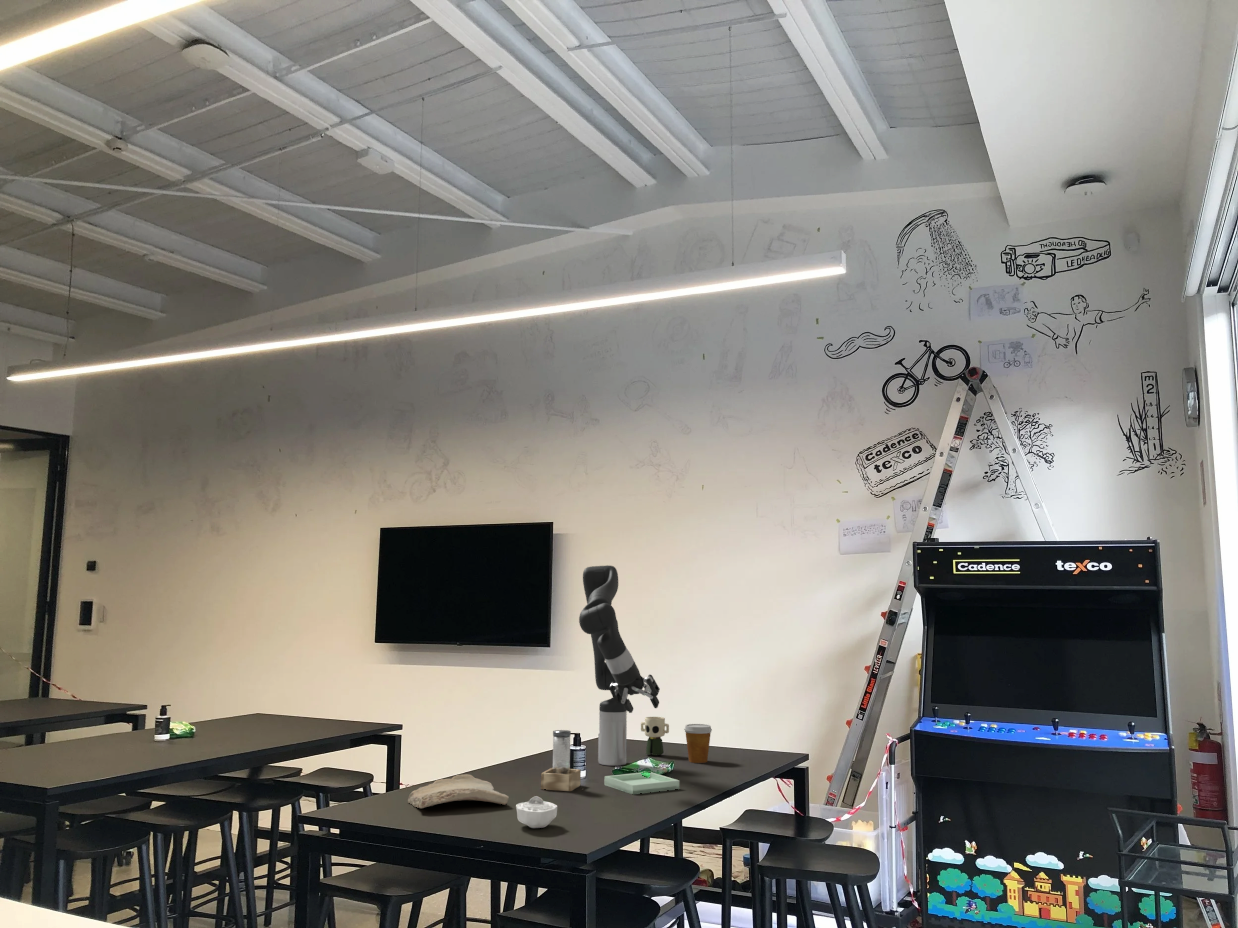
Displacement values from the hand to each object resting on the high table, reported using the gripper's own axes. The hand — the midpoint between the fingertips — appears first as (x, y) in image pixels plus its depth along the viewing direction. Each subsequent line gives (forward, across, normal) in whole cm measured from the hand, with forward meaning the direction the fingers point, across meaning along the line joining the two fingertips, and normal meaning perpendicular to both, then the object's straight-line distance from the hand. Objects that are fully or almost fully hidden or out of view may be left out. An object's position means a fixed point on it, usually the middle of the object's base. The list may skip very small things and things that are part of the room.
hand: (644, 708), depth 286 cm
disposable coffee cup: (+47, +10, -31) cm, 57 cm away
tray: (+19, +7, +10) cm, 23 cm away
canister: (+9, +26, +18) cm, 33 cm away
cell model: (-12, +6, +58) cm, 60 cm away
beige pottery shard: (-12, +38, +45) cm, 60 cm away
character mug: (+46, +28, -37) cm, 66 cm away
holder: (+9, +26, +18) cm, 33 cm away
